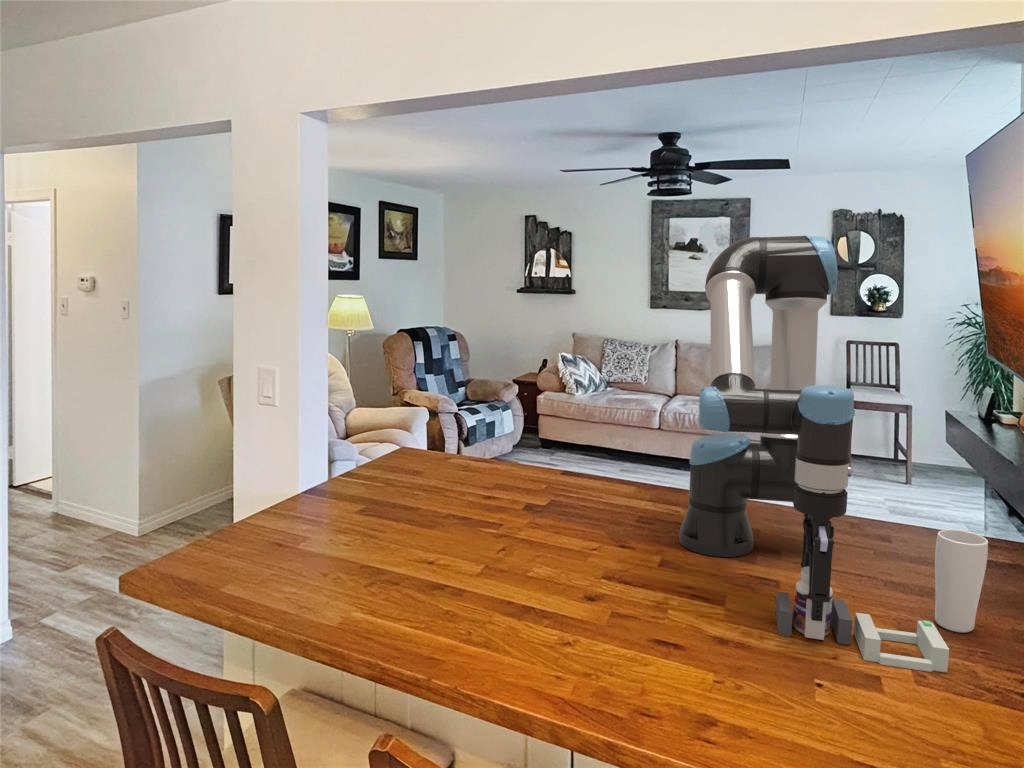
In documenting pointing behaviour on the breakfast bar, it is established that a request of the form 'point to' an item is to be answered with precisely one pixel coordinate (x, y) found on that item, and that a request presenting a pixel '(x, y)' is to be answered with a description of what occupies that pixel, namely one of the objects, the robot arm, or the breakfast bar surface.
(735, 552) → the robot arm
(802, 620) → the pill bottle
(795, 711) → the breakfast bar surface
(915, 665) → the port
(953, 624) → the drinking glass
